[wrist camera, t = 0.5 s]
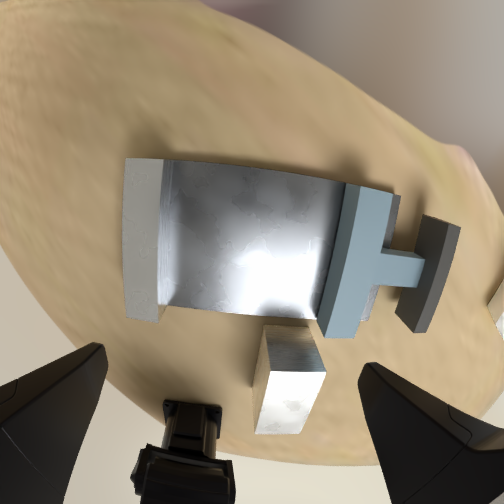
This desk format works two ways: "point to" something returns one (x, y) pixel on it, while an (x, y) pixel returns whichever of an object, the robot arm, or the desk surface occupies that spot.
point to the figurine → (498, 308)
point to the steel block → (285, 379)
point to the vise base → (229, 239)
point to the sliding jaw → (383, 265)
